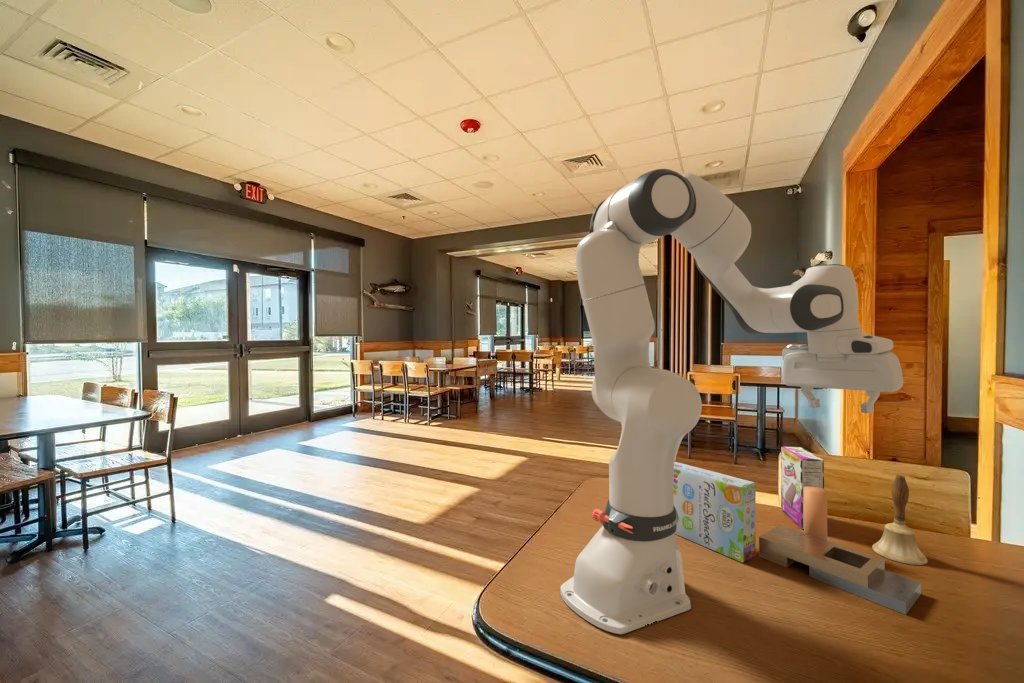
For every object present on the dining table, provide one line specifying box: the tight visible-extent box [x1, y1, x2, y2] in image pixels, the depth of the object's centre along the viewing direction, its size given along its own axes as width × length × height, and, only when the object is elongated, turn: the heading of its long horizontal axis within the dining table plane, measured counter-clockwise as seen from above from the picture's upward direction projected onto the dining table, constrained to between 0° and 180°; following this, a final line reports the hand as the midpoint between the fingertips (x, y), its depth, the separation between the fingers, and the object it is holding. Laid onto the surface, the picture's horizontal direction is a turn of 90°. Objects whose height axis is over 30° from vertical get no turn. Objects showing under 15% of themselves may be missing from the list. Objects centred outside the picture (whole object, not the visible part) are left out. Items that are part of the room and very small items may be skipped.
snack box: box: [673, 461, 757, 563], centre depth 92 cm, size 21×6×15 cm, turn 34°
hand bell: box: [871, 474, 929, 566], centre depth 85 cm, size 8×8×16 cm
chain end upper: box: [758, 524, 886, 588], centre depth 80 cm, size 9×17×4 cm, turn 35°
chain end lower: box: [808, 557, 922, 616], centre depth 75 cm, size 9×13×2 cm
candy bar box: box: [780, 446, 825, 530], centre depth 101 cm, size 11×5×16 cm, turn 168°
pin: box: [803, 487, 828, 541], centre depth 88 cm, size 4×4×12 cm
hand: (839, 409), depth 88 cm, fingers open, 8 cm apart
